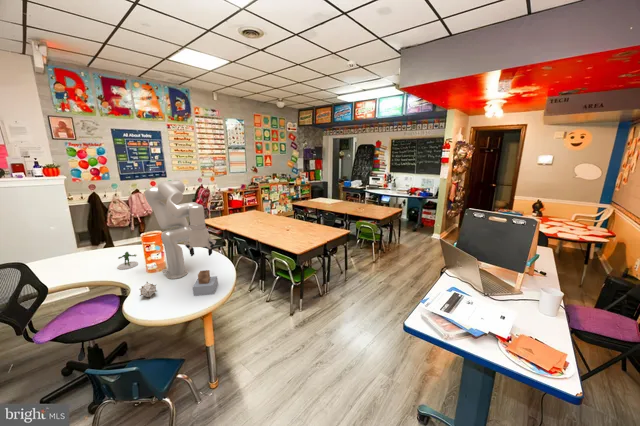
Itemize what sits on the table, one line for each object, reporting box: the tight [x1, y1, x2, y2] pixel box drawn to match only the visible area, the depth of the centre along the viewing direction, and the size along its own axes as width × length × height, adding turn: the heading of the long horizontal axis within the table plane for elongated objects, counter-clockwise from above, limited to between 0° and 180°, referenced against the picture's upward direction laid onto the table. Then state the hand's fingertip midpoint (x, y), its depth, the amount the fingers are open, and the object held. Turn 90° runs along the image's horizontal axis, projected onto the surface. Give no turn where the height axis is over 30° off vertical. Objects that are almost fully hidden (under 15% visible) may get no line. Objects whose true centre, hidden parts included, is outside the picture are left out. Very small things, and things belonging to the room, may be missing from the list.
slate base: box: [192, 275, 219, 297], centre depth 148 cm, size 11×11×6 cm
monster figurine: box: [116, 251, 139, 271], centre depth 179 cm, size 12×12×10 cm
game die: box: [138, 281, 157, 299], centre depth 142 cm, size 9×8×10 cm
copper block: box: [197, 269, 211, 284], centre depth 147 cm, size 5×5×6 cm
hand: (201, 255), depth 144 cm, fingers open, 9 cm apart
